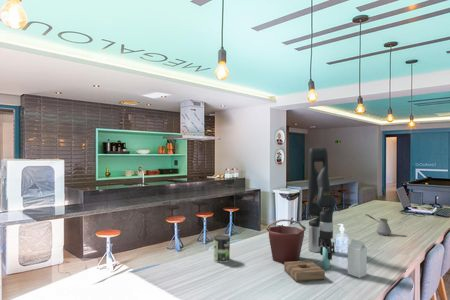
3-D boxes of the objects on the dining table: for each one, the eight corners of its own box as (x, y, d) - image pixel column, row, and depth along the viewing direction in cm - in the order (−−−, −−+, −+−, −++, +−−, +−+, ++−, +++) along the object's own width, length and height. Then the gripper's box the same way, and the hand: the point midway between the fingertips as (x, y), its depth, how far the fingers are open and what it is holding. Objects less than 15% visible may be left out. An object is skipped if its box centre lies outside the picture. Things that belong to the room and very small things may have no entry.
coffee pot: (393, 234, 259) (393, 216, 259) (388, 237, 251) (388, 218, 251) (367, 229, 275) (368, 213, 275) (362, 231, 267) (362, 214, 267)
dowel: (321, 267, 182) (321, 246, 182) (327, 266, 183) (327, 246, 183) (324, 269, 178) (324, 248, 178) (331, 269, 179) (331, 248, 179)
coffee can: (232, 259, 194) (233, 236, 194) (224, 263, 185) (224, 240, 186) (219, 256, 200) (219, 234, 200) (210, 260, 191) (210, 237, 191)
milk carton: (359, 278, 166) (359, 242, 166) (347, 274, 172) (347, 239, 172) (366, 275, 170) (366, 240, 170) (354, 271, 176) (354, 237, 176)
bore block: (284, 270, 175) (284, 262, 175) (310, 269, 178) (310, 260, 178) (296, 282, 160) (296, 272, 160) (324, 280, 163) (324, 270, 163)
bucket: (306, 256, 201) (307, 218, 201) (303, 268, 180) (303, 225, 180) (269, 252, 209) (270, 215, 209) (262, 262, 188) (262, 221, 189)
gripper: (314, 226, 187) (314, 253, 186) (326, 232, 173) (326, 261, 172) (325, 226, 188) (325, 253, 188) (338, 232, 174) (338, 260, 174)
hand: (326, 257), depth 180 cm, fingers open, 8 cm apart
